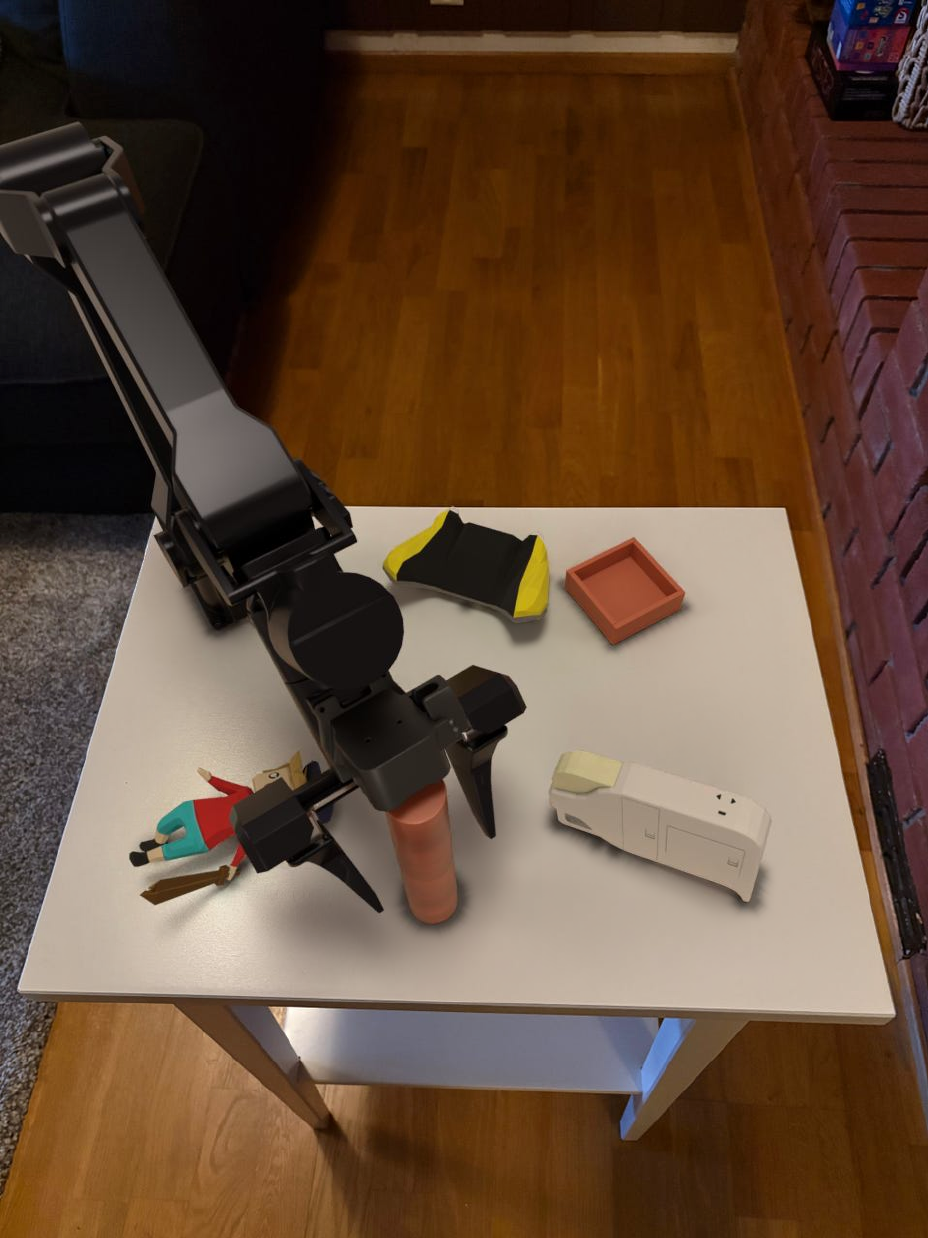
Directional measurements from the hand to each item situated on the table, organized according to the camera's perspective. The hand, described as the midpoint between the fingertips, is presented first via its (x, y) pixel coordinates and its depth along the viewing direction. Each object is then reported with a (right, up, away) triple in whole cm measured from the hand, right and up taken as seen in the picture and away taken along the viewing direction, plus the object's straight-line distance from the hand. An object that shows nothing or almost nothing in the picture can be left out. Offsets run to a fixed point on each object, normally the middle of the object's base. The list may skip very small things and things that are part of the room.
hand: (436, 872), depth 55 cm
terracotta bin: (+16, +18, +23) cm, 34 cm away
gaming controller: (+3, +19, +25) cm, 31 cm away
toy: (-15, -1, +11) cm, 19 cm away
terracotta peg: (-1, -4, +8) cm, 9 cm away
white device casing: (+16, -1, +10) cm, 19 cm away
